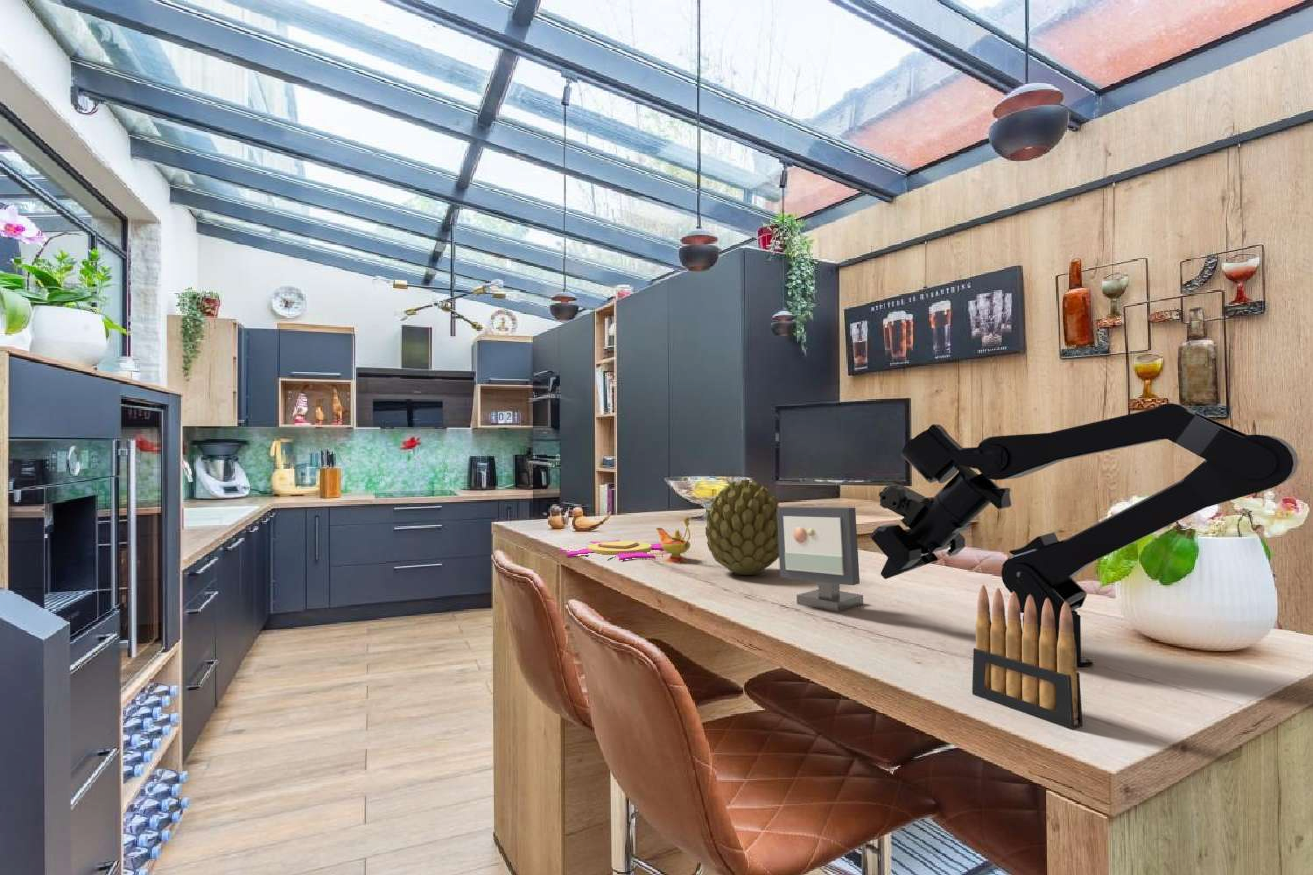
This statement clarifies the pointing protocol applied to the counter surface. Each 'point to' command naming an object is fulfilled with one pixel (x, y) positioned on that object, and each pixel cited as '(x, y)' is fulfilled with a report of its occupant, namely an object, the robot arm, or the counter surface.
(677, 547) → the magic lamp
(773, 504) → the decorative object
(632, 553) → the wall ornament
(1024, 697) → the ammunition clip
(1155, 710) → the counter surface
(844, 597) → the picture stand
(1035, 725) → the counter surface
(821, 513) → the picture frame
